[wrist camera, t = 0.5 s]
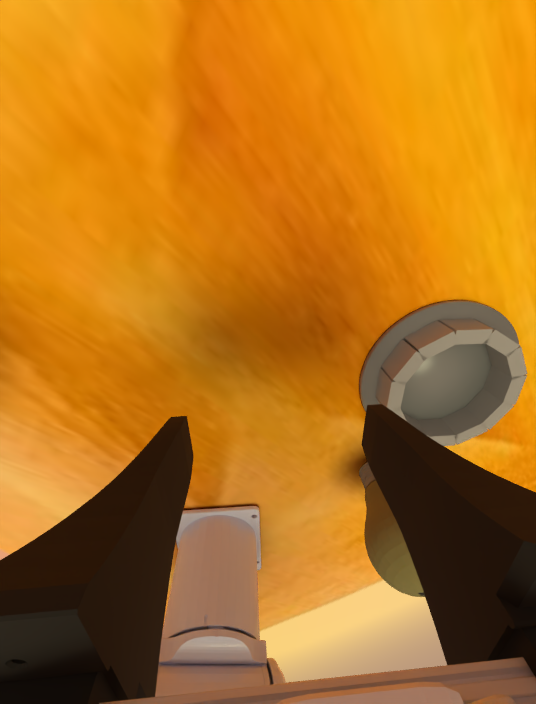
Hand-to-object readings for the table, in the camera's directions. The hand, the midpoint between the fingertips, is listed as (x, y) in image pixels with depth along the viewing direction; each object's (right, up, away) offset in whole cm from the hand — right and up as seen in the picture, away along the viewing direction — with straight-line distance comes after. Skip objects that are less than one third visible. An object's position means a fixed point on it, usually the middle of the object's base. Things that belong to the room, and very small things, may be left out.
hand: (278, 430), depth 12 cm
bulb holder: (+13, +1, +12) cm, 17 cm away
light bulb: (+9, -7, +15) cm, 19 cm away
